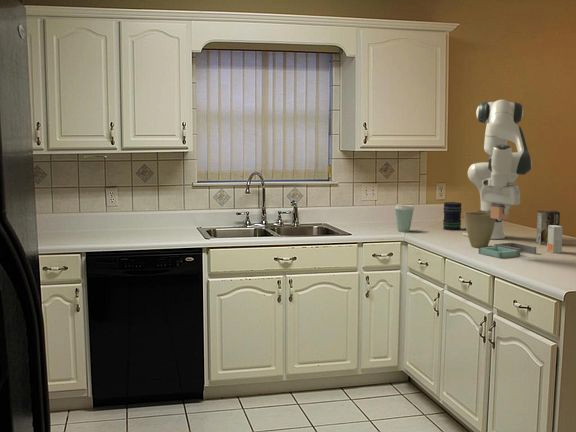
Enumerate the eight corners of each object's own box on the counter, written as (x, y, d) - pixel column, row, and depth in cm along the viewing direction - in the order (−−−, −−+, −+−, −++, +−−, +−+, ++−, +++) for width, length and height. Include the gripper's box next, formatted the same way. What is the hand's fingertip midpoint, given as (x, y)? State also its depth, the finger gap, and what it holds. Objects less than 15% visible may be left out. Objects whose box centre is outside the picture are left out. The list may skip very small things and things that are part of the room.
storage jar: (443, 230, 375) (444, 203, 373) (442, 227, 384) (443, 202, 382) (461, 230, 373) (462, 204, 371) (460, 228, 382) (461, 202, 381)
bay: (494, 250, 308) (494, 244, 308) (511, 248, 313) (511, 242, 313) (518, 255, 295) (518, 248, 295) (536, 253, 300) (536, 247, 300)
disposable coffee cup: (404, 229, 378) (405, 203, 376) (418, 231, 369) (418, 204, 367) (390, 230, 372) (390, 204, 370) (403, 233, 363) (404, 205, 361)
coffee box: (554, 242, 331) (555, 210, 329) (559, 244, 325) (560, 211, 323) (535, 242, 331) (537, 210, 329) (540, 244, 325) (541, 211, 323)
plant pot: (486, 243, 328) (488, 211, 326) (500, 248, 313) (501, 215, 311) (457, 244, 326) (458, 212, 324) (470, 249, 311) (471, 215, 309)
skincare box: (546, 250, 308) (547, 225, 306) (555, 250, 308) (556, 225, 307) (552, 253, 302) (554, 226, 300) (561, 253, 302) (563, 226, 301)
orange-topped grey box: (490, 218, 296) (490, 204, 295) (500, 217, 299) (501, 203, 298) (498, 219, 291) (499, 205, 291) (509, 218, 294) (509, 204, 293)
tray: (478, 253, 300) (478, 248, 300) (496, 251, 305) (496, 246, 305) (499, 258, 289) (500, 252, 288) (518, 256, 294) (518, 250, 294)
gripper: (524, 183, 285) (523, 215, 287) (489, 180, 303) (488, 210, 305) (513, 183, 283) (512, 216, 284) (479, 181, 301) (478, 211, 302)
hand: (499, 213), depth 295 cm, fingers closed on orange-topped grey box, 5 cm apart
